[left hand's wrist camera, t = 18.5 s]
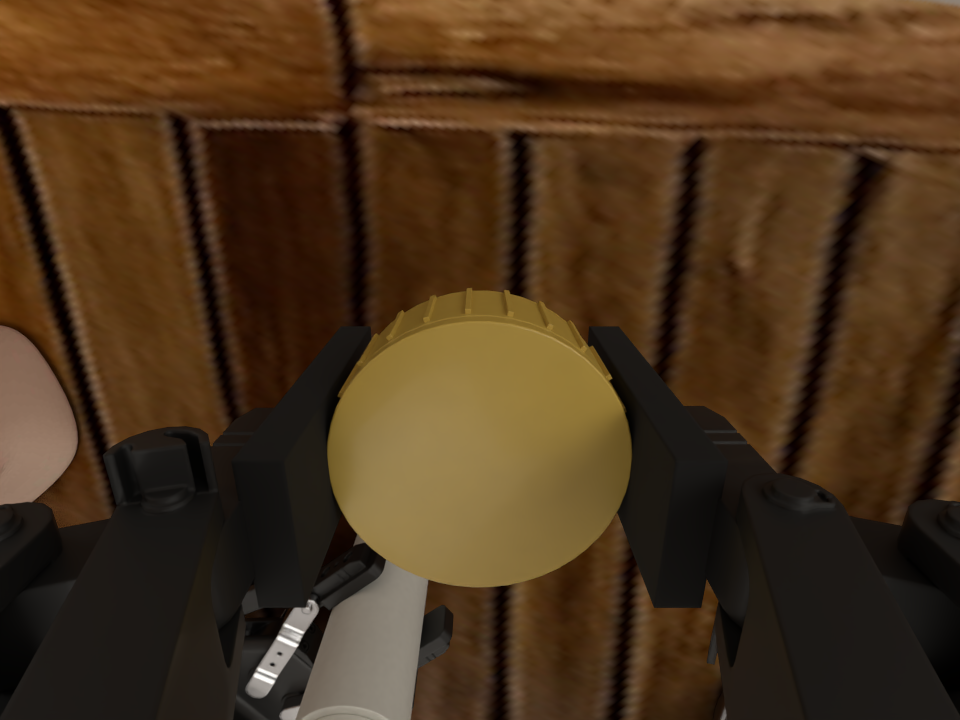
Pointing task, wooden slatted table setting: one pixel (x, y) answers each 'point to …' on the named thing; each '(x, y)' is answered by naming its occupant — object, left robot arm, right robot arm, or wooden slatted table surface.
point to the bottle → (369, 652)
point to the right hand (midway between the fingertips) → (414, 589)
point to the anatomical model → (31, 421)
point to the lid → (479, 441)
